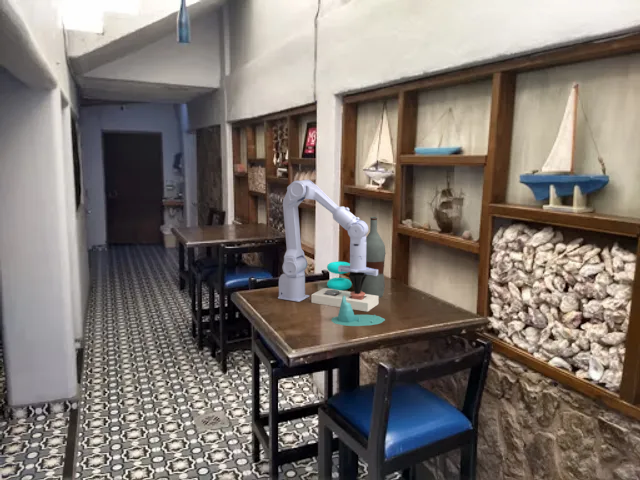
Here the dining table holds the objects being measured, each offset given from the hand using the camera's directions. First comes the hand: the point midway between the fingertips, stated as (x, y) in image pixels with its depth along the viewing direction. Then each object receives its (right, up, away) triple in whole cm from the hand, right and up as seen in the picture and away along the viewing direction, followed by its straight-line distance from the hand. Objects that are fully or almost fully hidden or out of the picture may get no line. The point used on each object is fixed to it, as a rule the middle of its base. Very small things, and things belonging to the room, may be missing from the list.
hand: (357, 293), depth 171 cm
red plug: (0, -3, +1) cm, 3 cm away
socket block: (-4, -4, +3) cm, 7 cm away
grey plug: (-9, -3, +5) cm, 11 cm away
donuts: (-6, -1, +24) cm, 25 cm away
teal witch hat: (-1, -8, -15) cm, 16 cm away
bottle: (+7, -2, +13) cm, 15 cm away
